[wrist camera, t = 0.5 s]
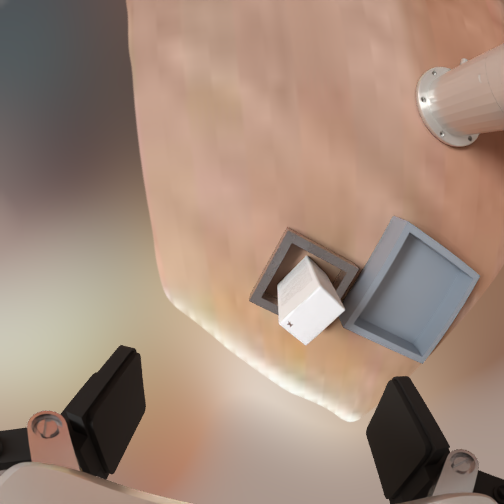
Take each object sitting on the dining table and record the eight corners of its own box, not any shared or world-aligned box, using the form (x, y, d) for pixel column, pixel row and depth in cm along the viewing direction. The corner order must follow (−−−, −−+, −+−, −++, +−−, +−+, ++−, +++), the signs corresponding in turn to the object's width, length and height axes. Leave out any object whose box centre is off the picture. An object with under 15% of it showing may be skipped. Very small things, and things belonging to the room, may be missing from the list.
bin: (393, 215, 38) (407, 221, 33) (463, 266, 39) (480, 275, 34) (336, 311, 42) (343, 327, 37) (411, 347, 43) (422, 363, 38)
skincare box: (297, 303, 42) (304, 347, 31) (276, 284, 42) (276, 324, 30) (328, 273, 41) (347, 310, 29) (307, 253, 40) (319, 284, 29)
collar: (287, 226, 40) (288, 230, 37) (354, 263, 40) (359, 268, 38) (250, 293, 42) (249, 300, 40) (315, 325, 43) (317, 333, 41)
